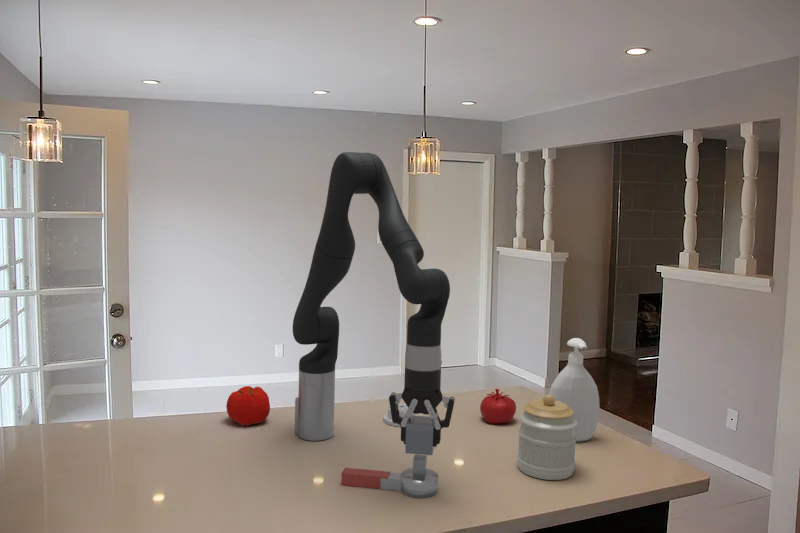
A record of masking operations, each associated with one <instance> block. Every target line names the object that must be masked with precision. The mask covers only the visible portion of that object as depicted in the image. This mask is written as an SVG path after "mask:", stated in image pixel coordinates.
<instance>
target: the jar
mask: <svg viewBox="0 0 800 533" xmlns="http://www.w3.org/2000/svg"><path fill="white" fill-rule="evenodd" d="M522 409H523V410H524V412H523V411H522V413H520V415H519V417H518V418H519V419H518V420H519V421H520V422H521V423H520V424H521V425H520V428H518V435H519V436H518V449H517V450H518V451H517V454H516V455H517V459H516V461H517V467H518V469H519V470H520V471H521V472H522V473H523V474H525V475H527V476H530V477H533V478H536V479H539V480H545V481H546V480H547V481H562V480H565V479H568V478H570V477H571V476H573V474H574V470H575V468H576V466H575V465H576V461H575V459H576V458H575V456H576V453H575V452H576V442H575V441H576V439H577V437H576V435H575V431H574V428H575V427H576V426H577V421H576V420H575V419H574V418H573V417H572V416H573V415H574V411H573V410H572V409H571V408H570V407H568V406H567V405H566V404H565V403H563V402H560V401H556V400H555V398H554V396H552V395H550V394H549V393H548V394H545V395H544V396H543V397H542V398H540V399H533V400H531V401H530V402H528V403H526V404H525V405H524V406H523V408H522Z"/></svg>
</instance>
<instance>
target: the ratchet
mask: <svg viewBox="0 0 800 533" xmlns="http://www.w3.org/2000/svg"><path fill="white" fill-rule="evenodd" d="M412 460H413V461H412V467H411V468H407V469H404V470H403V471H401V472H391V471H386V470H375V469H363V468H354V467H344V468H343V470H342V472H341V474H340V475H341V476H340V478H341V480H340V485H341V486H349V487H356V488H358V487H359V488H367V489H368V488H369V489H379V490H385V491H386V490H387V491H395V492H396V491H397V492H401V493H402V494H403V495H404V496H407V497H411V498H416V499H427V498H431V497H433V496H436V495H437V494H438V492H439V476H440V475H439V474H438V473H437V472H436V471H434V470H432V469H430V468H427V466H428V455H421V454H414V456H413V458H412Z"/></svg>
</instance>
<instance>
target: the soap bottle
mask: <svg viewBox="0 0 800 533" xmlns="http://www.w3.org/2000/svg"><path fill="white" fill-rule="evenodd" d="M566 345H567V346H568V347H573V351H570V353H569V354H568V357H567V358H568V361H567V364H566V365H565V367H564V368H563V369H562V370H561V371H560V372H559V373H558V375H557V376H556V378H555V379H554V381H553V382H552V384H551V386H550V390H549V392H548V394H550V395H552V396H554V398H555V400H556V401H560V402H563V403H565V404H566V405H567V406H568V407H570V408H571V409H572V410H573V411H574V415H573V416H572V417H573V418H574V419H575V420H576V421H577V426H576V427H575V428H574V431H575V435H576V437H577V439H576V441H575V443H578V442H586V441H588V440H590V439H591V438H592V437H593V434H594V433H595V432H596V430H597V426H598V423H599V419H600V410H601V409H600V396H599V390H598V389H599V388H598V386H597V384H596V382H595V380H594V378H593V377H592V375H591V374H590V373H589V372H588V370H587V369H586V368H585V367H584V354H582V352H580V351H579V349H581V350H587V349H588V346H587V343H586V342H585V341H584V340H583V339H582V338H579V337H573V338H570V339H569V340H568V341H567V342H566Z"/></svg>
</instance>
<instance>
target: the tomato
mask: <svg viewBox="0 0 800 533" xmlns="http://www.w3.org/2000/svg"><path fill="white" fill-rule="evenodd" d="M225 407H226V412H227V415H228V418H230V419H231V420H232V421H234V422H237V424H239V425H242V426H250V425H255V424H260V423H261V422H263V421H264V420H265V419H267V418H268V417H269V416H270V409H271V405H270V398H269V395H268V393H267V392H266V391H265V390H264V389H263V388H262V387H260V386H255V387H252V386H251V385H248V386H242V387H240V388H239V389H238V390H236V391H233V392H231V393H230V395H229V396H228V398H227V401H226V406H225Z"/></svg>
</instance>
